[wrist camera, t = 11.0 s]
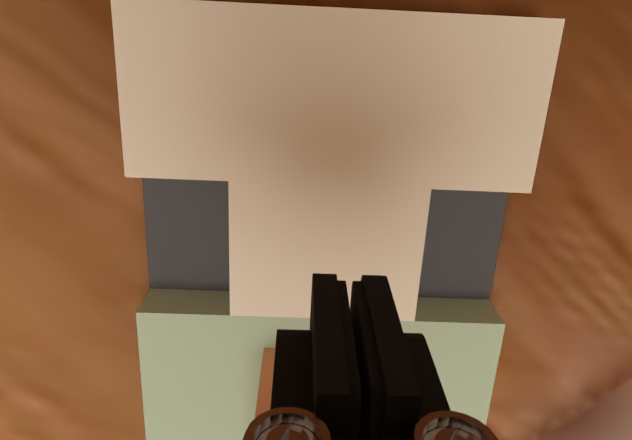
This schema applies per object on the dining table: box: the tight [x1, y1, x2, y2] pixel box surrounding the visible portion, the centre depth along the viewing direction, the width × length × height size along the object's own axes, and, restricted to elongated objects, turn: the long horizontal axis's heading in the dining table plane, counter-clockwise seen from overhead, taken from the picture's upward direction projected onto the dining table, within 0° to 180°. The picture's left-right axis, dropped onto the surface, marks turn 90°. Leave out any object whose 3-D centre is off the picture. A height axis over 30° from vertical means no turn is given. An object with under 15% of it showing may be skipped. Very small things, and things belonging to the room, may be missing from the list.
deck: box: [111, 0, 565, 440], centre depth 23 cm, size 20×16×2 cm
